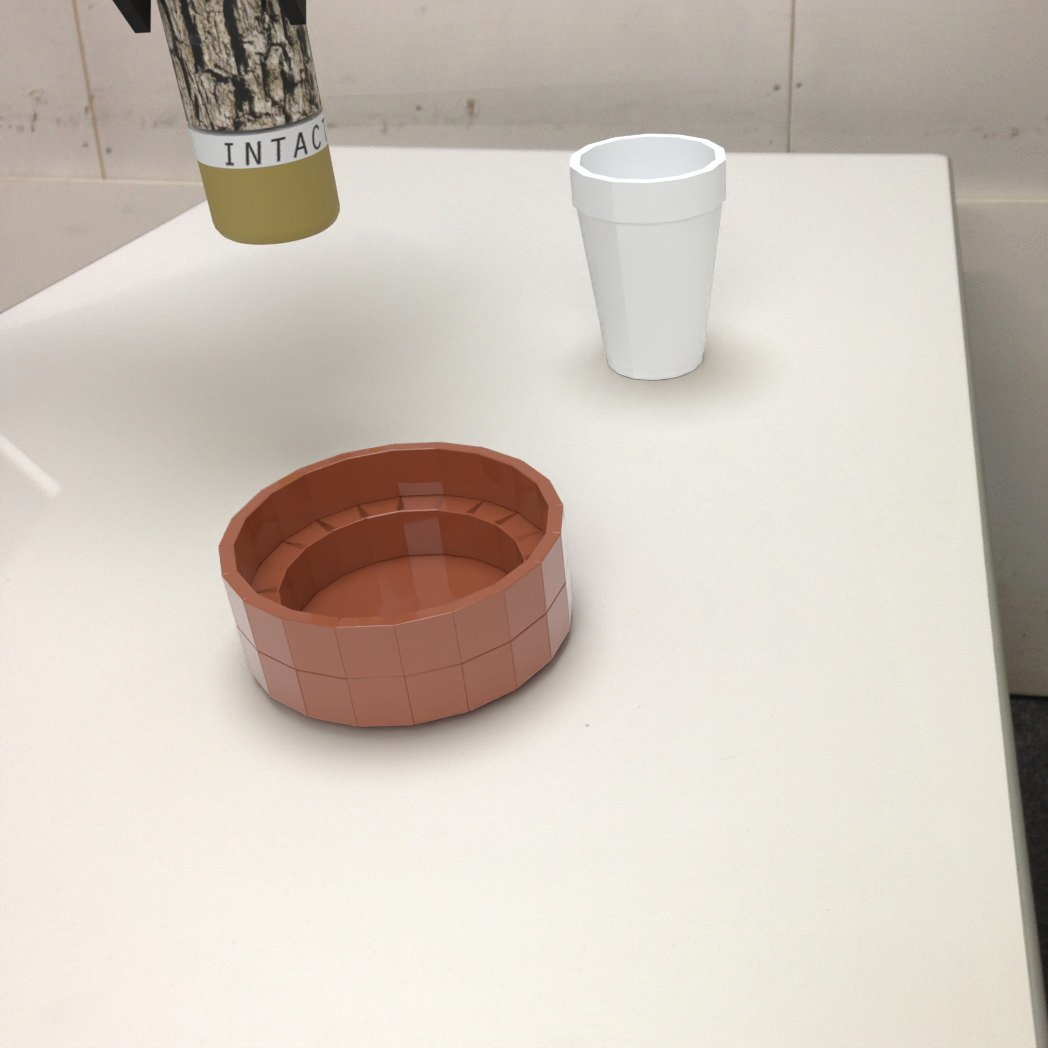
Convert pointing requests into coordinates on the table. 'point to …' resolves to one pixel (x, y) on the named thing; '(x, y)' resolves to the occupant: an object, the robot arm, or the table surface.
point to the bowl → (399, 582)
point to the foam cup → (650, 246)
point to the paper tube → (253, 118)
